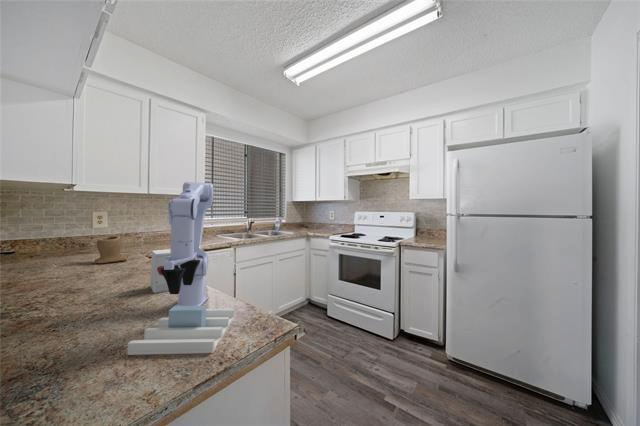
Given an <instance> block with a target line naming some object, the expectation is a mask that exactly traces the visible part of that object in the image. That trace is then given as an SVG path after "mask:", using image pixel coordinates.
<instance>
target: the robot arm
mask: <svg viewBox="0 0 640 426" xmlns="http://www.w3.org/2000/svg"><path fill="white" fill-rule="evenodd" d="M213 199H214V184H213V183H212V182H209V183H208V182H205V183H204V182H189V181H185V182H184V183H182V192H181V193H180V194H179V195H178V196H177V198H174V197H173V199H170V200H169V202H168V206H167V212H168V218H169V220H168V222H169V226H170V248H169V249H170V256H168V257H166V260H167V261H166V262H164V267H163V268H161V273H162V275H163V276H164V278H165V280H166V282H167V285H168V289H169V291H168V292H169V295H177V297H178V298H177V303H176V304H175V305H173V306H172V307H171V308H173V307H174V306H203V305H204V304H205V302H207V300H208V299H209V296H207V280H206V278H205V277H206V276H207V274H208V271H209V256H208V252H206V251H205V250H204V249H202V248H201V247H202V241H203V240H202V239H203V233H204V232H203V231H204V223H205V217H206V213H207V210H208V209H209V208H211V207H212V205H213Z"/></svg>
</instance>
